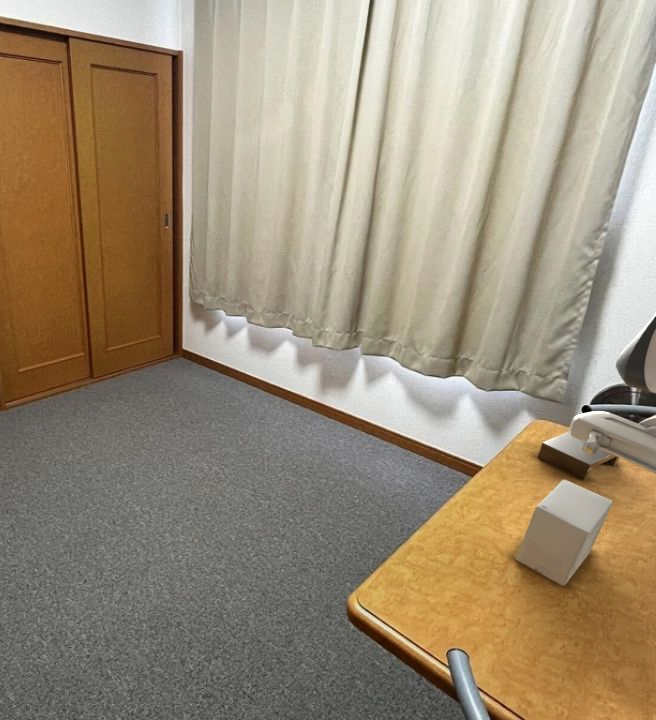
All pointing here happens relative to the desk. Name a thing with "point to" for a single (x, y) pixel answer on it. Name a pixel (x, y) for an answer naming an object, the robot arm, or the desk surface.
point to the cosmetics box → (563, 531)
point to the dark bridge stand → (573, 455)
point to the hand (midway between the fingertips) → (624, 465)
